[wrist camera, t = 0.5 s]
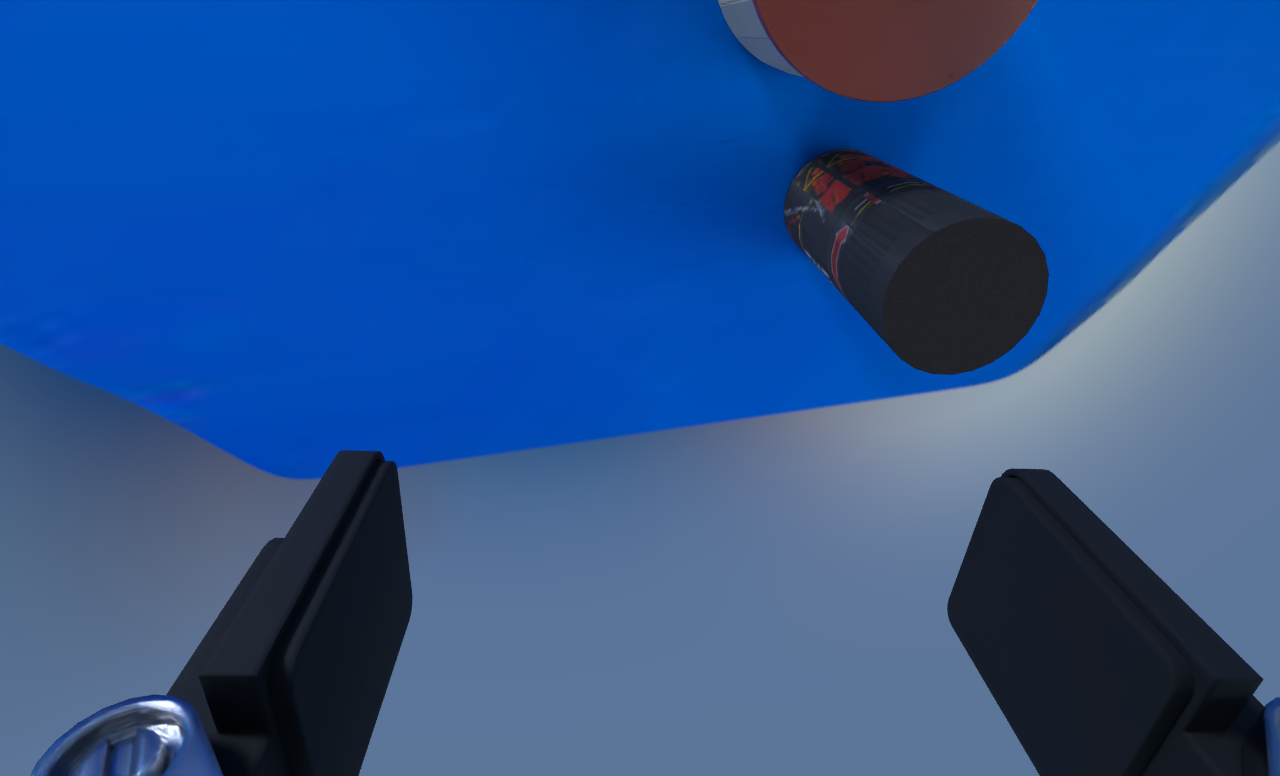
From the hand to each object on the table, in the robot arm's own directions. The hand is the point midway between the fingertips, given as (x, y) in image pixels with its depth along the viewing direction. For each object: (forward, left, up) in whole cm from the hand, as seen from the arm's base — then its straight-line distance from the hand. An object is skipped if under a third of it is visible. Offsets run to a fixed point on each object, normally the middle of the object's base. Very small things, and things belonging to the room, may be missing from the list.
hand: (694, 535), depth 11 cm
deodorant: (-7, +9, -29) cm, 31 cm away
